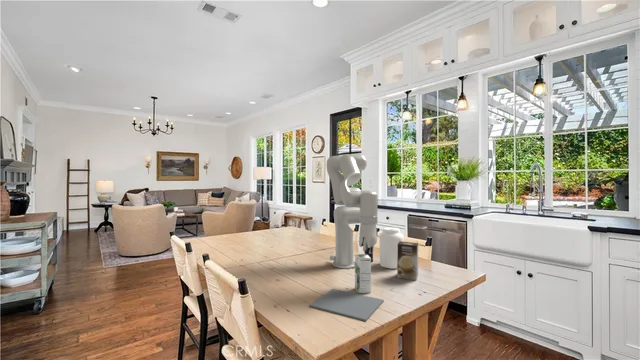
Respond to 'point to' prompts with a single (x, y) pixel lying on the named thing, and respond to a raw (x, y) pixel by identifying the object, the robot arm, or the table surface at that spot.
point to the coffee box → (407, 260)
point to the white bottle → (389, 247)
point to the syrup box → (362, 273)
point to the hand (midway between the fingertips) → (368, 262)
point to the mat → (348, 304)
